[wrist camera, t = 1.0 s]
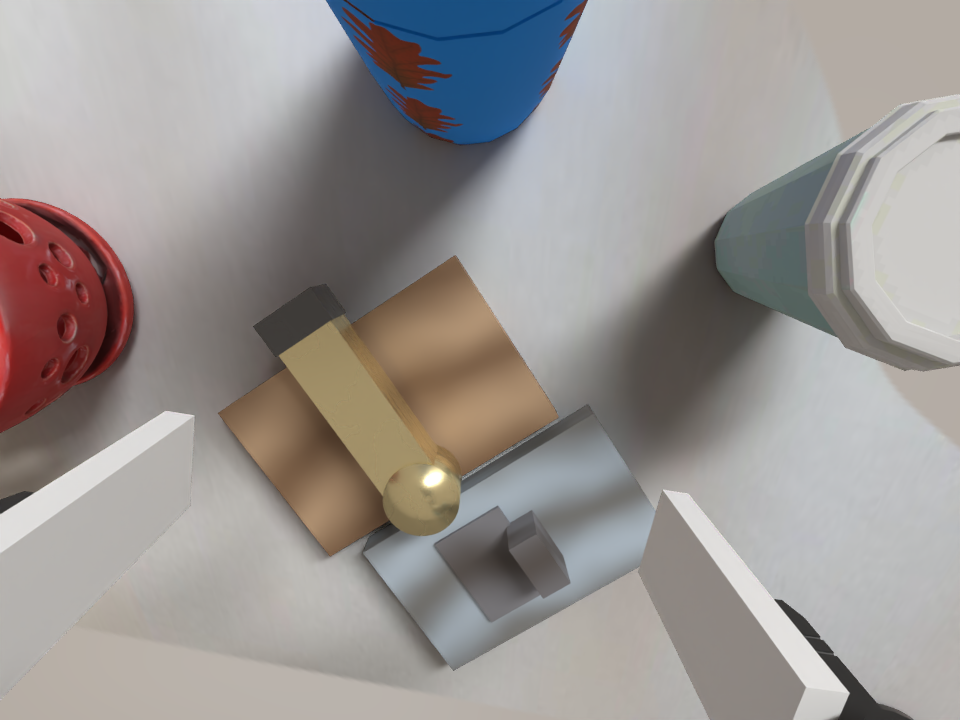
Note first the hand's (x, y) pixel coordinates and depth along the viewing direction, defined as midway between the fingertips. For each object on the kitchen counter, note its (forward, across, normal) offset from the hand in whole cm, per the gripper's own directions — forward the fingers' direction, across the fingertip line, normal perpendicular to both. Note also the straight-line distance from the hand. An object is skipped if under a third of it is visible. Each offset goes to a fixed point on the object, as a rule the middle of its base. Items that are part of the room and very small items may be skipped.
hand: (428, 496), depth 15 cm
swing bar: (+18, +4, +4) cm, 19 cm away
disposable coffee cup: (+20, -18, -10) cm, 29 cm away
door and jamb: (+20, -2, +9) cm, 22 cm away
